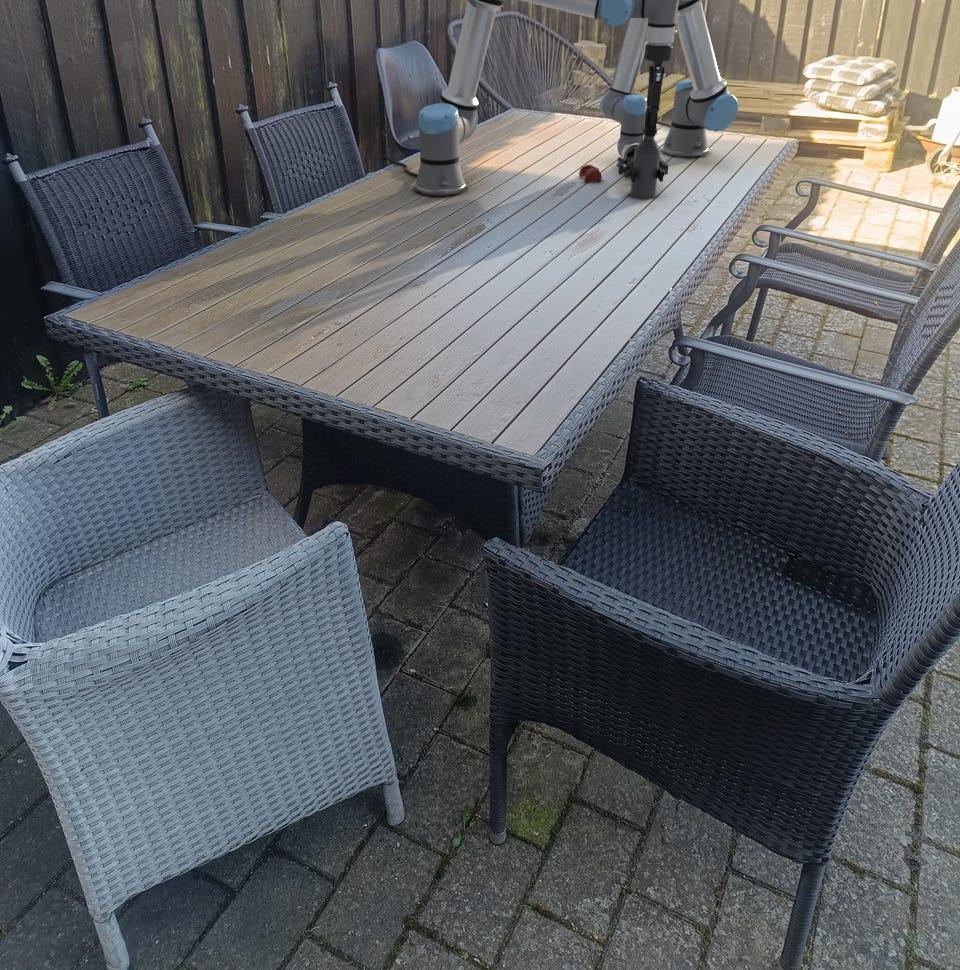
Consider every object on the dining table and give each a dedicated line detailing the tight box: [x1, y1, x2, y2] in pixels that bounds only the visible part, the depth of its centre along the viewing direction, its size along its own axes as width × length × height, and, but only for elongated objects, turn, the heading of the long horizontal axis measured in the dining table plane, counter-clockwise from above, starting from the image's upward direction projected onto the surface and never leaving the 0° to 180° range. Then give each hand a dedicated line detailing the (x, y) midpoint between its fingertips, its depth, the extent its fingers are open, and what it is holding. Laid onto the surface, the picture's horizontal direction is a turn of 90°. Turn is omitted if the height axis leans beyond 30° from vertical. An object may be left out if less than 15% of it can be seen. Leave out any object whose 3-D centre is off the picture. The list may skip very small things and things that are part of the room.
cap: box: [642, 126, 658, 136], centre depth 243 cm, size 4×4×2 cm
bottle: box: [629, 135, 661, 200], centre depth 249 cm, size 7×7×18 cm
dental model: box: [578, 164, 603, 183], centre depth 266 cm, size 6×4×8 cm
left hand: (649, 133), depth 244 cm, fingers closed on cap, 4 cm apart
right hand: (648, 177), depth 246 cm, fingers closed on bottle, 7 cm apart
